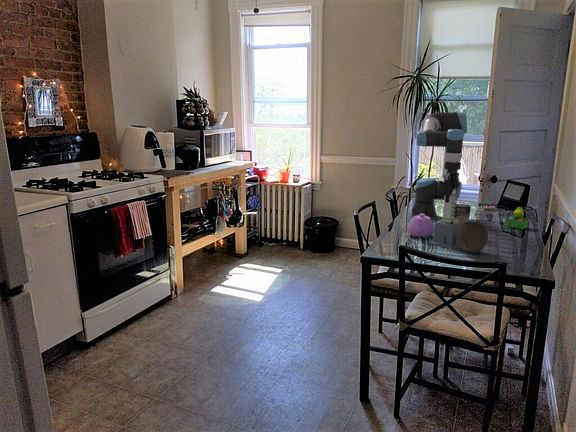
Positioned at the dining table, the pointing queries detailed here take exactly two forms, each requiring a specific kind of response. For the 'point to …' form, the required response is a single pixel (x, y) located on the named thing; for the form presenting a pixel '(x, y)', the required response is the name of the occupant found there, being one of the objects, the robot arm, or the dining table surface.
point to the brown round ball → (472, 236)
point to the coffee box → (462, 213)
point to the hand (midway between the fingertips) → (449, 207)
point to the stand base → (446, 234)
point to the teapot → (421, 226)
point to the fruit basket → (517, 219)
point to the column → (449, 213)
